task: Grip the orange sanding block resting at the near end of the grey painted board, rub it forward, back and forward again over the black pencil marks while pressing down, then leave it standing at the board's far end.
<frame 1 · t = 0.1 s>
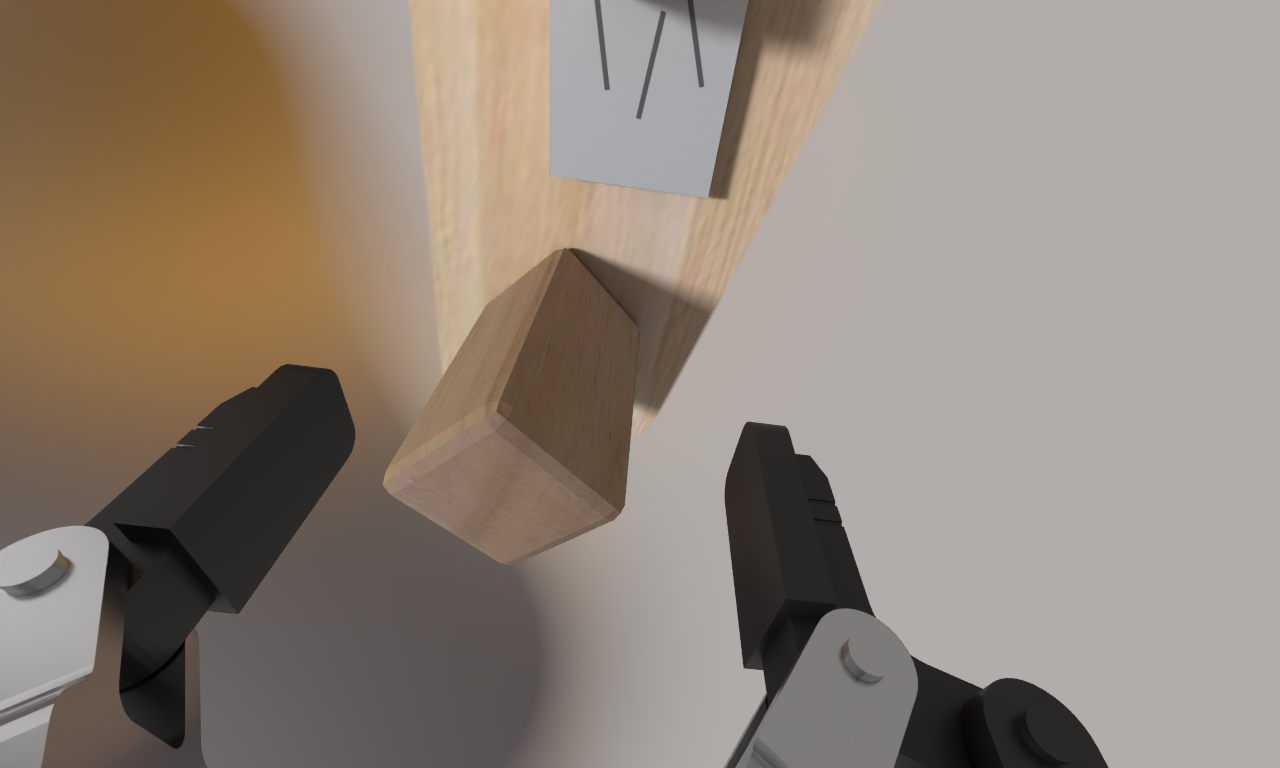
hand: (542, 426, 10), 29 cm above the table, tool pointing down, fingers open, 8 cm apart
block: (564, 316, 42), on the table
board: (649, 3, 28), on the table
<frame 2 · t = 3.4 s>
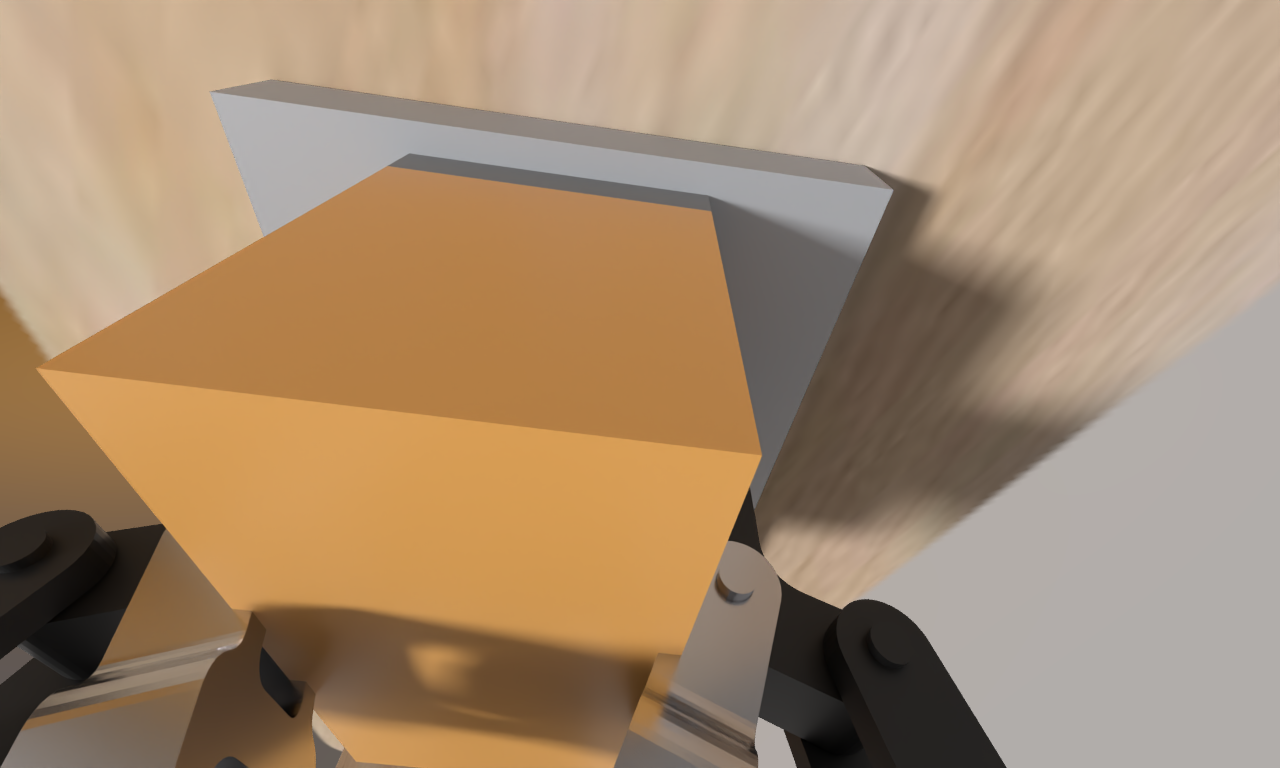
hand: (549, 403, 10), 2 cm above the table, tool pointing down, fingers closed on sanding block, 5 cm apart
block: (479, 709, 29), on the table
board: (562, 478, 15), on the table
sanding block: (556, 384, 11), point 2 cm above the table, touching board, gripper
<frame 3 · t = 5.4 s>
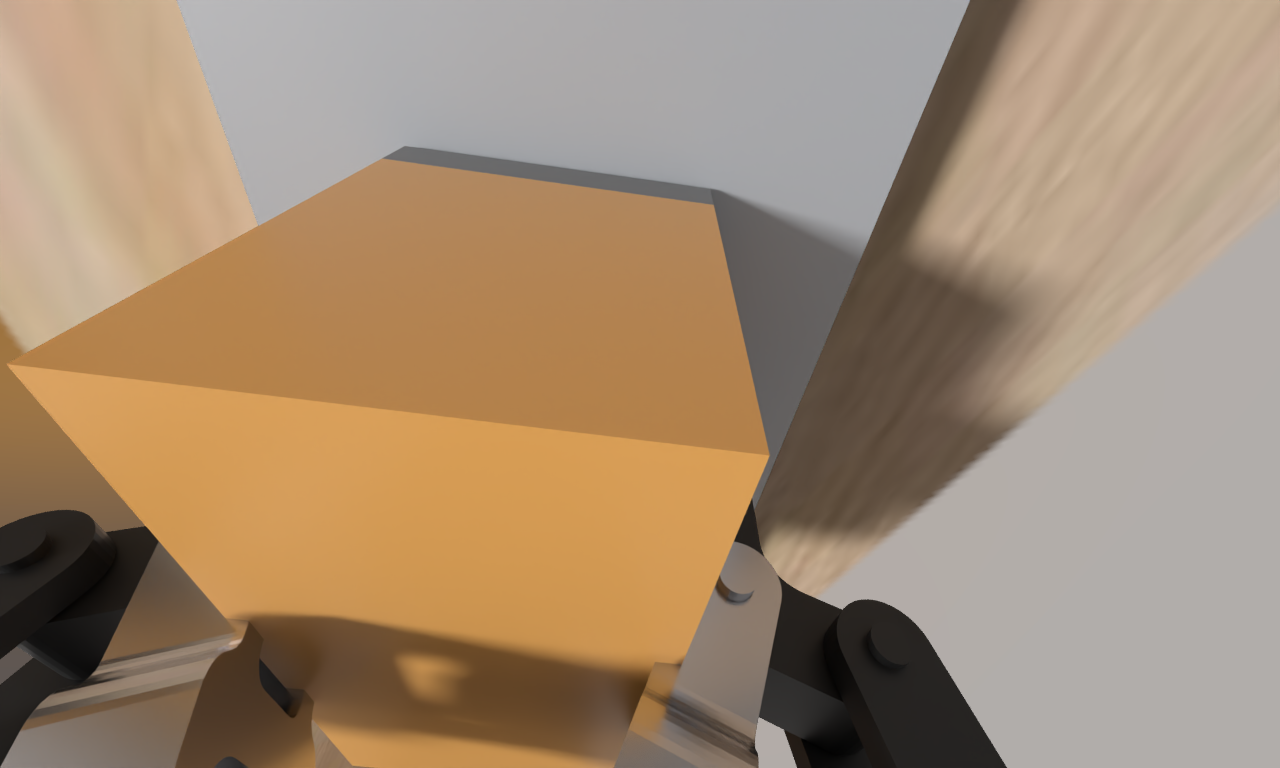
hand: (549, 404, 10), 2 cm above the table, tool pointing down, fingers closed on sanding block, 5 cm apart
block: (465, 666, 24), on the table
board: (568, 272, 11), on the table
sanding block: (555, 381, 11), point 2 cm above the table, touching board, gripper
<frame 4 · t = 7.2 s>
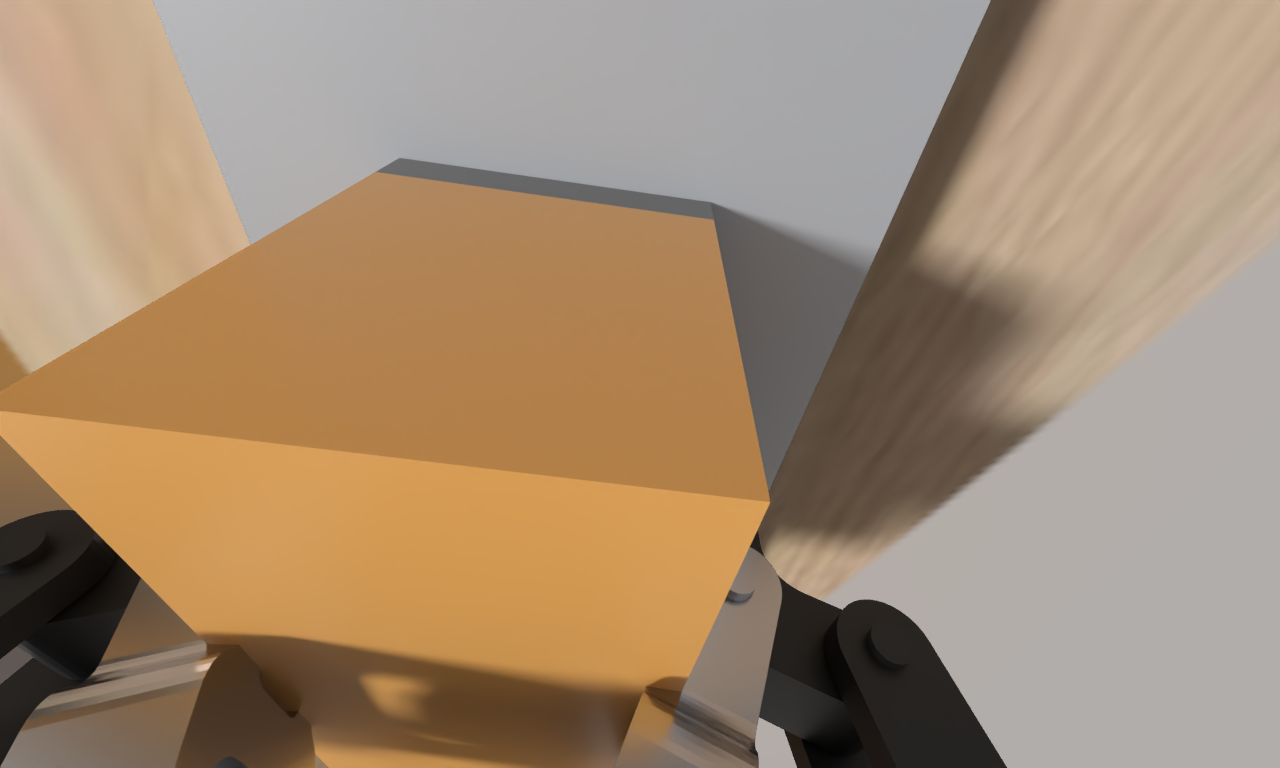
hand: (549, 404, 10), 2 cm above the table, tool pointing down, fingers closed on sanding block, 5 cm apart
board: (566, 306, 11), on the table
sanding block: (553, 393, 11), point 2 cm above the table, touching gripper
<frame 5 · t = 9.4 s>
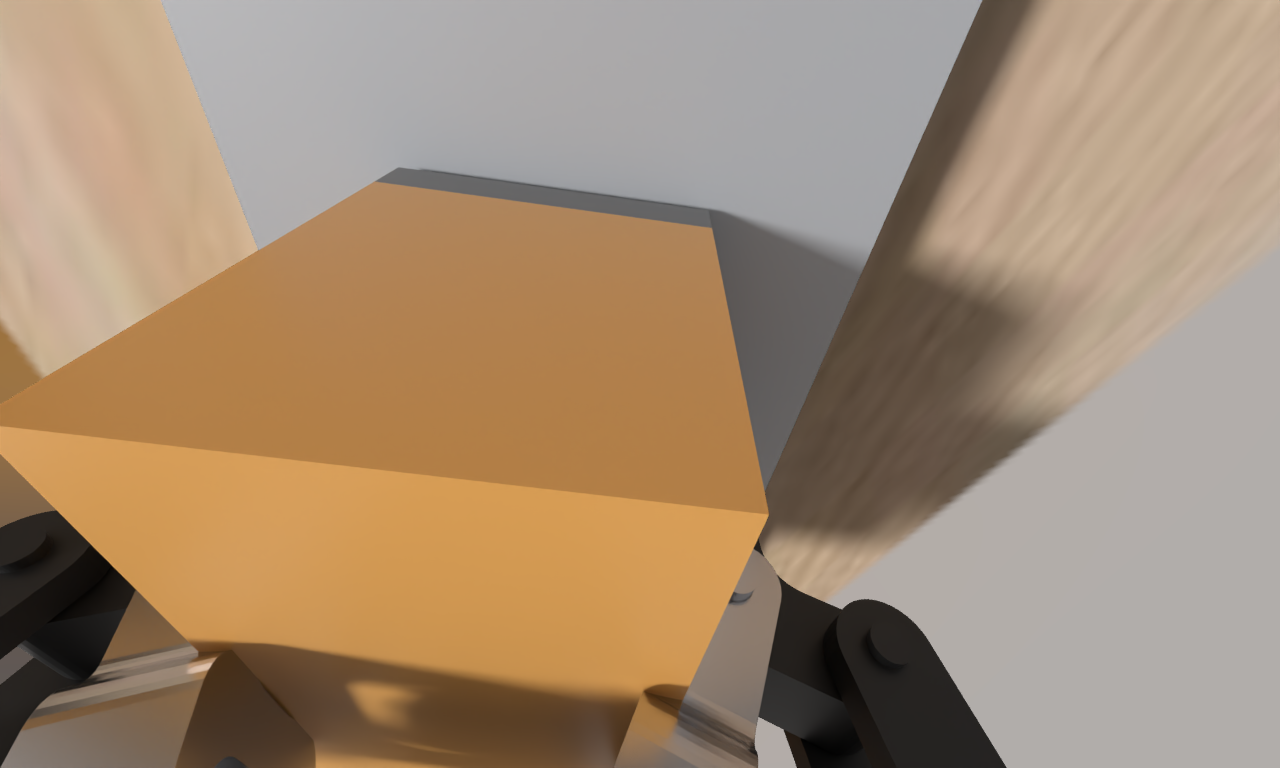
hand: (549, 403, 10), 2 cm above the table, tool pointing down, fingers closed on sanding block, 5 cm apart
board: (564, 356, 12), on the table
sanding block: (552, 400, 11), point 2 cm above the table, touching gripper
when the fingers open (2 cm above the table, at t = 11.4 s): sanding block stays where it is, resting on board.
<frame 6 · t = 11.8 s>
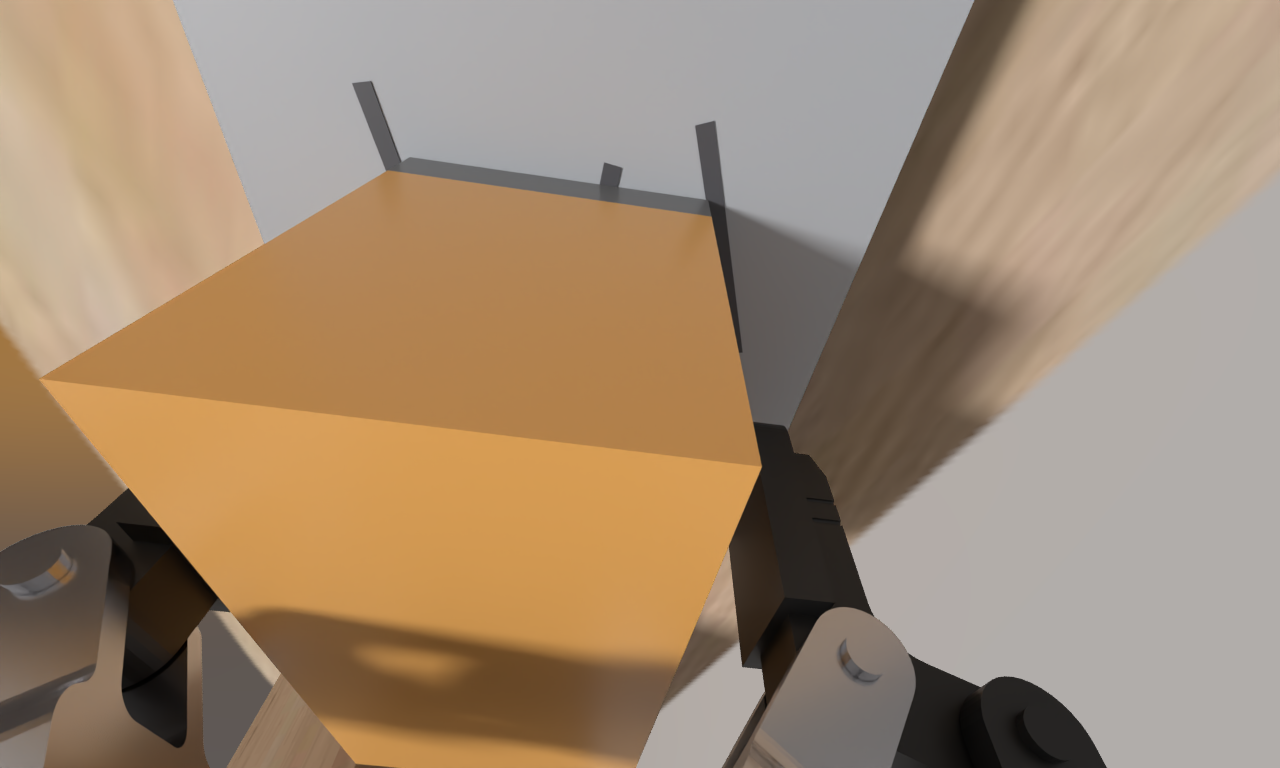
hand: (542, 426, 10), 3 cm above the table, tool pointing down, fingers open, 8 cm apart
block: (461, 632, 23), on the table
board: (573, 123, 9), on the table
sanding block: (556, 386, 11), point 2 cm above the table, touching board
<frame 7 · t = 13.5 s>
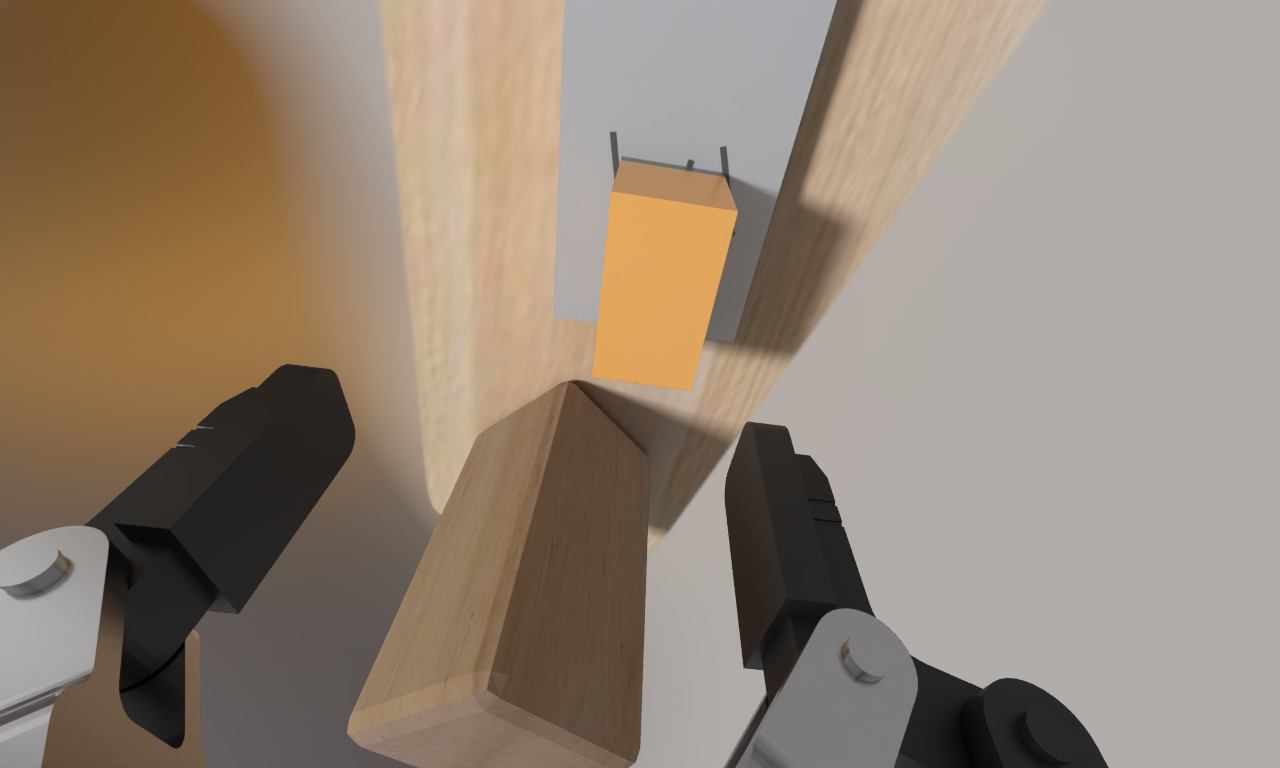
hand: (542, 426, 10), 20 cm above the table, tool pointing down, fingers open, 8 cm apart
block: (565, 442, 38), on the table
board: (673, 145, 24), on the table
sanding block: (657, 252, 26), point 2 cm above the table, touching board
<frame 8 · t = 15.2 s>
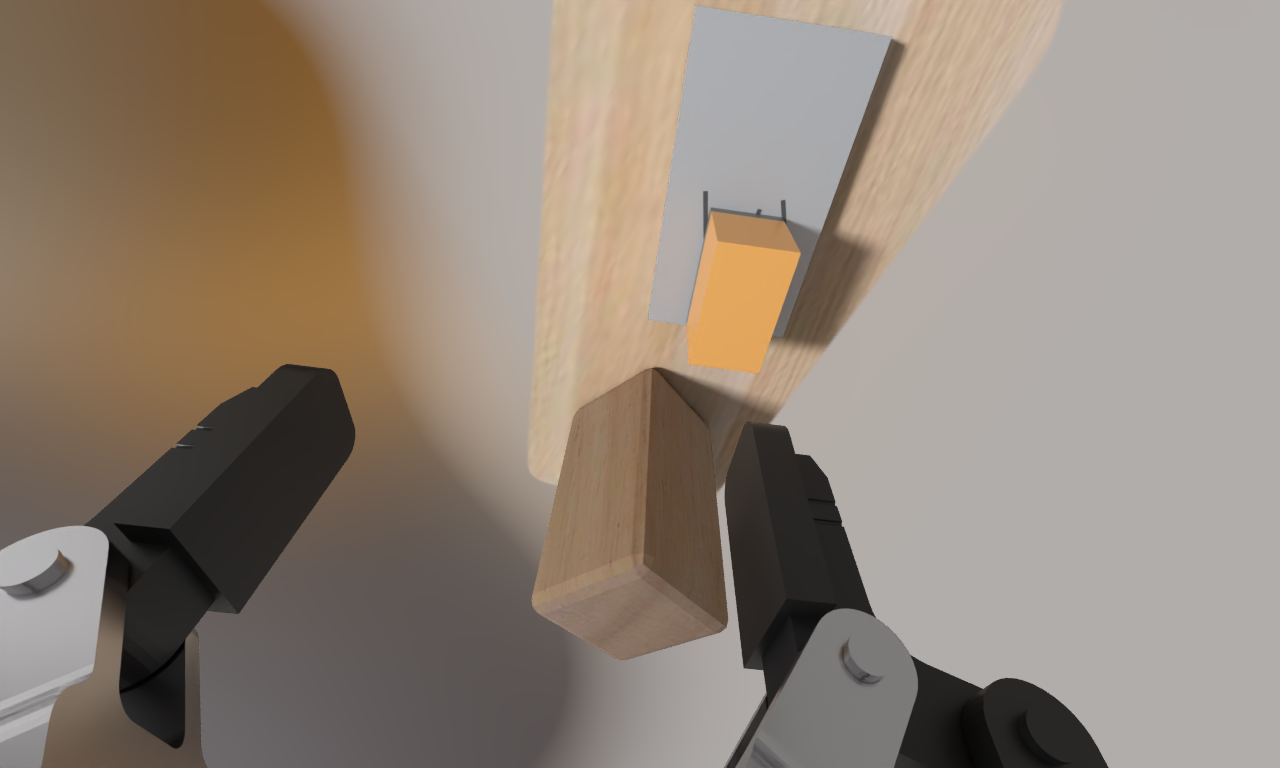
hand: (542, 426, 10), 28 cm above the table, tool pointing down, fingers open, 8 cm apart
block: (642, 416, 48), on the table
board: (745, 197, 34), on the table
sanding block: (730, 272, 36), point 2 cm above the table, touching board
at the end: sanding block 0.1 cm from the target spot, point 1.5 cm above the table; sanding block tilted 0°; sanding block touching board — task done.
